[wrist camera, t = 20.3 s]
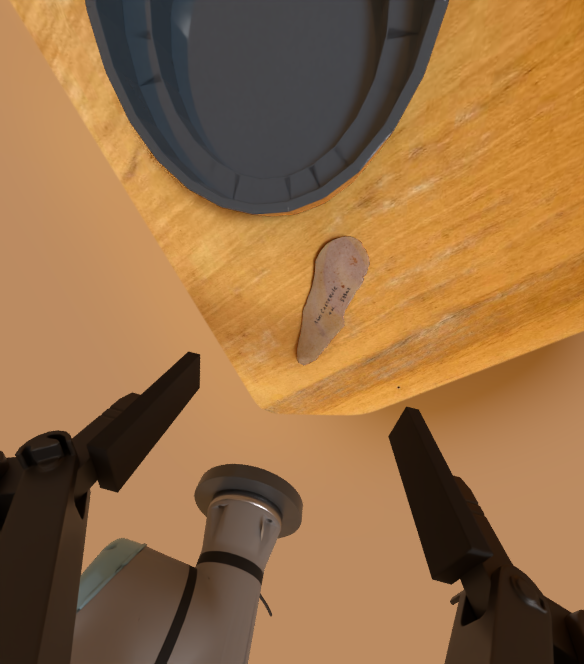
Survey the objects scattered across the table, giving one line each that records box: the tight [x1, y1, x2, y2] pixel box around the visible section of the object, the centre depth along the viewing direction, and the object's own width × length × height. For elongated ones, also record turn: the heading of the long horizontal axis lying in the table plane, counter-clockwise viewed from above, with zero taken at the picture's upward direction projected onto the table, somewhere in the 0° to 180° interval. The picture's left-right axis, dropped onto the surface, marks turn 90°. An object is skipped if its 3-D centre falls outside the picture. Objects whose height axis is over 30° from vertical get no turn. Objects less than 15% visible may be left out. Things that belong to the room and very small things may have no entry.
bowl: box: [85, 0, 449, 216], centre depth 14 cm, size 20×20×5 cm
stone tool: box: [297, 236, 370, 365], centre depth 24 cm, size 5×2×15 cm
